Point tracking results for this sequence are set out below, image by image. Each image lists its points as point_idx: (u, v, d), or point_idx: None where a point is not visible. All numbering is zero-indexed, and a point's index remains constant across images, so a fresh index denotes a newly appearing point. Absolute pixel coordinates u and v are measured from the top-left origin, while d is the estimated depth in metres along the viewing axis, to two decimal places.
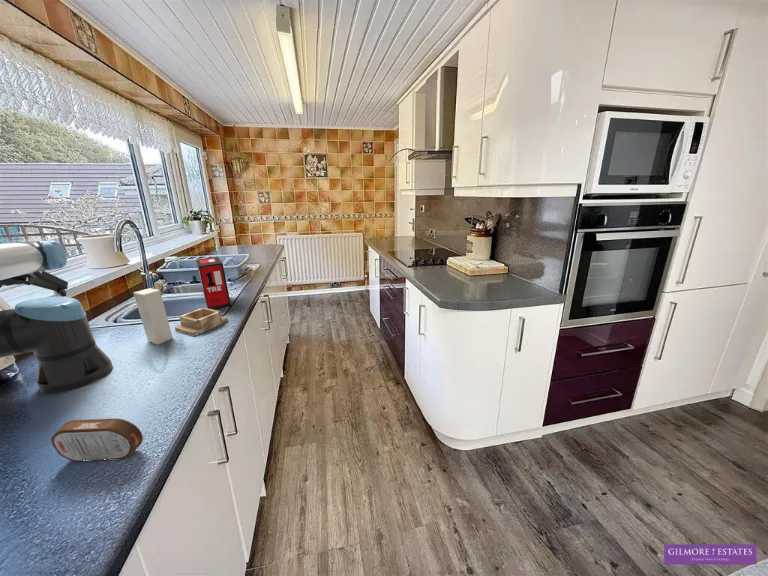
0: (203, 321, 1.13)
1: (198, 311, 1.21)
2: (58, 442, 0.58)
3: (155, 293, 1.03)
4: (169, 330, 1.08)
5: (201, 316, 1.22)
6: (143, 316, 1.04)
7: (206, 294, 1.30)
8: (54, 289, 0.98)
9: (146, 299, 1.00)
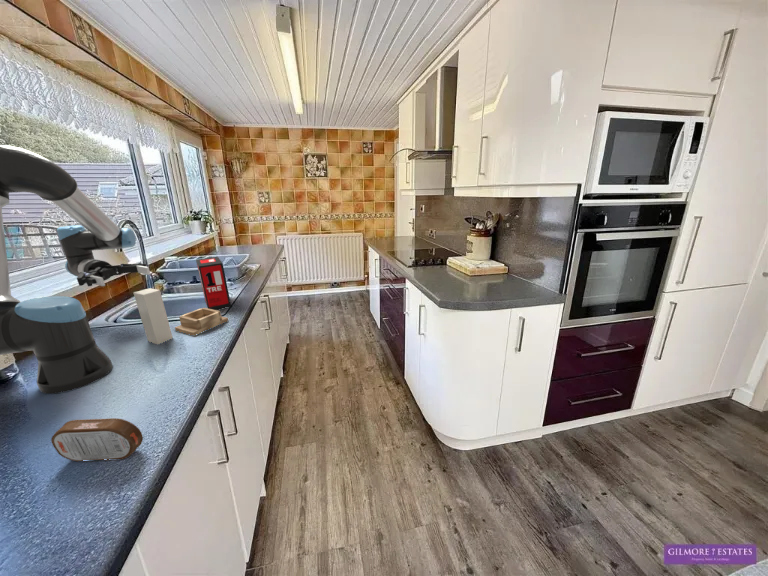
0: (203, 321, 1.13)
1: (198, 311, 1.21)
2: (58, 442, 0.58)
3: (155, 293, 1.03)
4: (169, 330, 1.08)
5: (201, 316, 1.22)
6: (143, 316, 1.04)
7: (206, 294, 1.30)
8: (136, 265, 1.15)
9: (146, 299, 1.00)
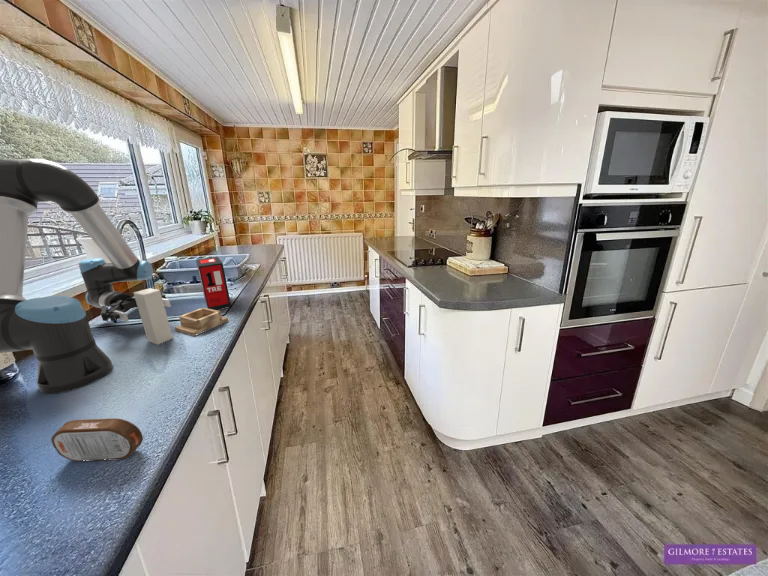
0: (203, 321, 1.13)
1: (198, 311, 1.21)
2: (58, 442, 0.58)
3: (155, 293, 1.03)
4: (169, 330, 1.08)
5: (201, 316, 1.22)
6: (143, 316, 1.04)
7: (206, 294, 1.30)
8: None
9: (146, 299, 1.00)
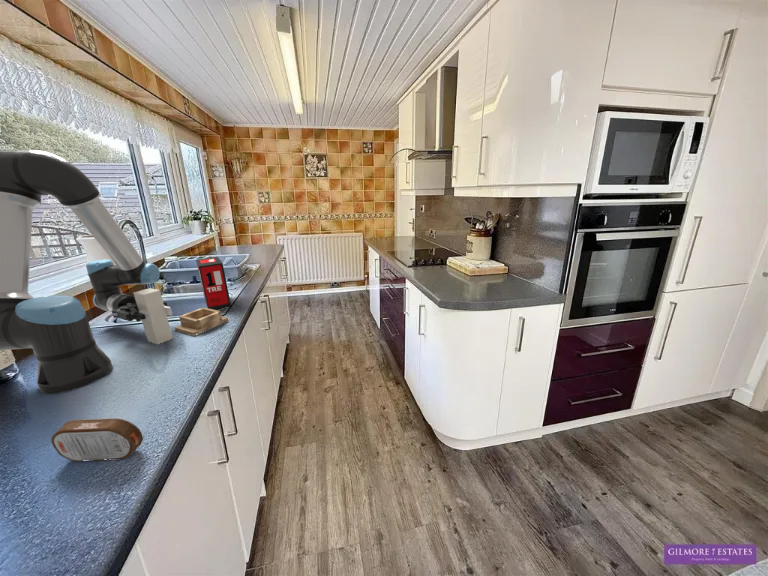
0: (203, 321, 1.13)
1: (198, 311, 1.21)
2: (58, 442, 0.58)
3: (155, 293, 1.03)
4: (169, 330, 1.08)
5: (201, 316, 1.22)
6: None
7: (206, 294, 1.30)
8: None
9: (146, 299, 1.00)
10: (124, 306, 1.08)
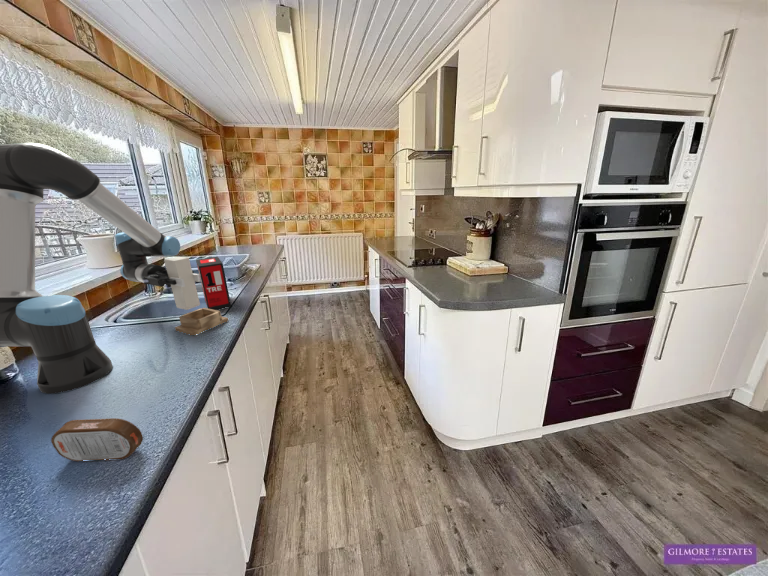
0: (203, 321, 1.13)
1: (198, 311, 1.21)
2: (58, 442, 0.58)
3: (185, 260, 1.08)
4: (197, 297, 1.14)
5: (201, 316, 1.22)
6: None
7: (206, 294, 1.30)
8: None
9: (177, 265, 1.06)
10: (153, 274, 1.14)
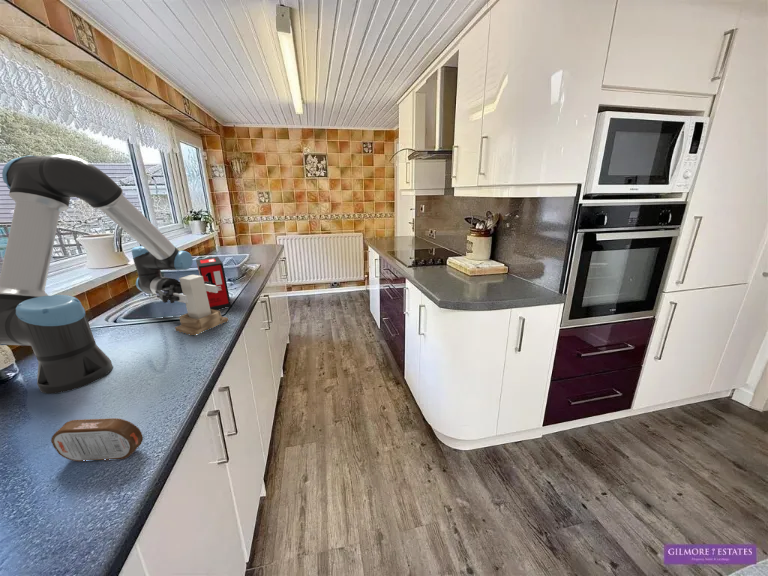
0: (203, 321, 1.13)
1: None
2: (58, 442, 0.58)
3: (199, 278, 1.12)
4: (210, 313, 1.18)
5: None
6: None
7: None
8: None
9: (191, 284, 1.10)
10: (168, 288, 1.17)
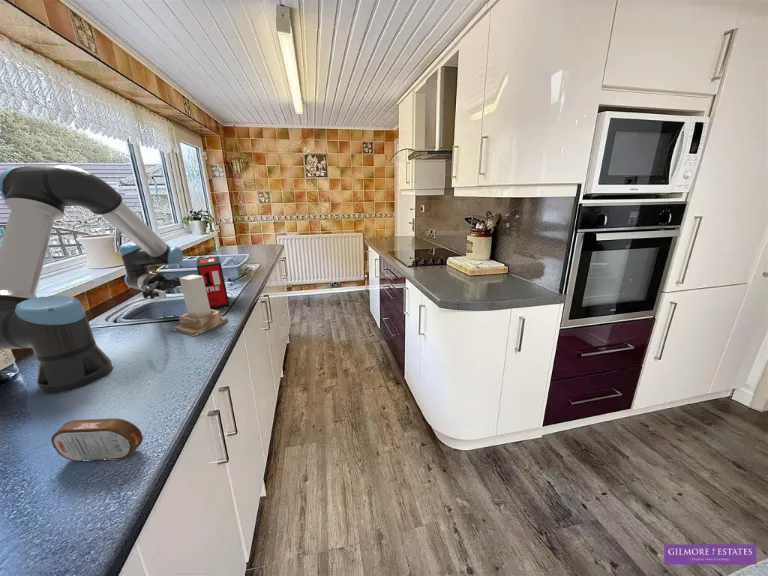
0: (203, 321, 1.13)
1: None
2: (58, 442, 0.58)
3: (199, 278, 1.12)
4: (210, 313, 1.18)
5: None
6: (187, 300, 1.13)
7: None
8: None
9: (191, 284, 1.10)
10: (154, 284, 1.22)
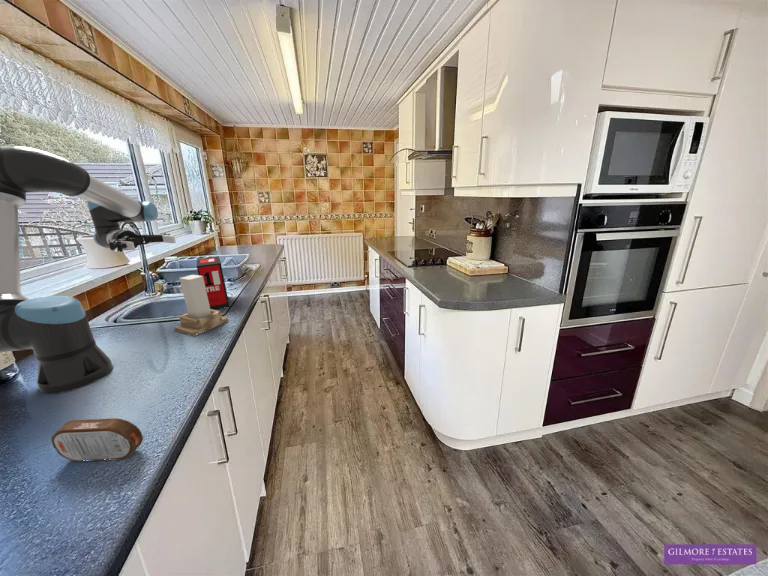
0: (203, 321, 1.13)
1: None
2: (58, 442, 0.58)
3: (199, 278, 1.12)
4: (210, 313, 1.18)
5: None
6: (187, 300, 1.13)
7: None
8: (161, 235, 1.20)
9: (191, 284, 1.10)
10: None
